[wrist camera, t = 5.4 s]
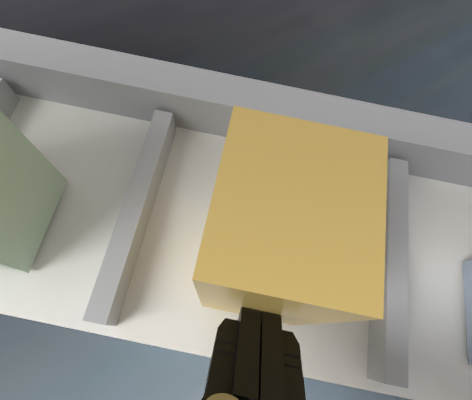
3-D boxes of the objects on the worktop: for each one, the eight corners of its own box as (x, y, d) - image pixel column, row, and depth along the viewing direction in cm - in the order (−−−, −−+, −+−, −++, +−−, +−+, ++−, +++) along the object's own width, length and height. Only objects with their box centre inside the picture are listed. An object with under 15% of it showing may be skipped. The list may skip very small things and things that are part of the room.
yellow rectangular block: (293, 325, 16) (383, 319, 8) (202, 306, 16) (191, 279, 8) (305, 227, 18) (388, 136, 10) (223, 210, 18) (233, 105, 10)
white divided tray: (587, 435, 16) (698, 465, 13) (-108, 289, 17) (-200, 277, 13) (545, 180, 22) (614, 149, 18) (14, 72, 22) (-26, 19, 18)
